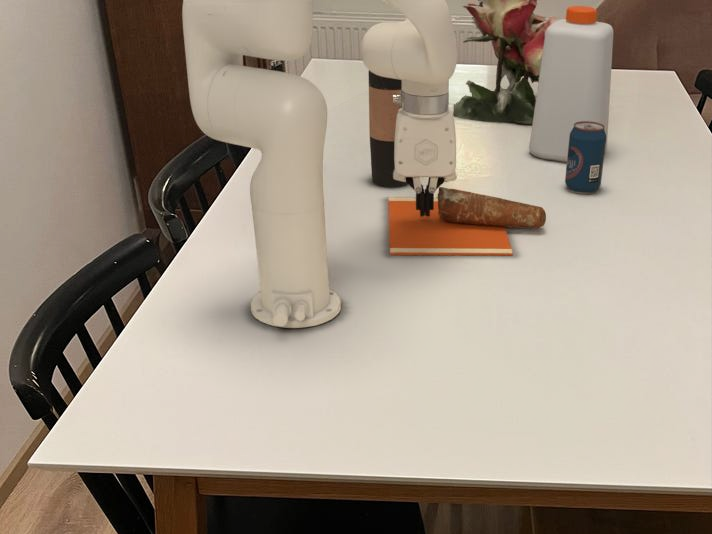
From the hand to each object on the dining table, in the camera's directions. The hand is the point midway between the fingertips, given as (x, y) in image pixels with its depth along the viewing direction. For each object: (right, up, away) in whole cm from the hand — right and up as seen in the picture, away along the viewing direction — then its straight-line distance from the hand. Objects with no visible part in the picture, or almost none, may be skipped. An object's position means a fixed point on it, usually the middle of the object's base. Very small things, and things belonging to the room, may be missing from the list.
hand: (424, 213), depth 160 cm
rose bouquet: (+18, +44, +65) cm, 81 cm away
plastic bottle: (+28, +24, +39) cm, 53 cm away
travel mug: (-8, +11, +19) cm, 23 cm away
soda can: (+29, +10, +20) cm, 37 cm away
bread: (+11, -1, +2) cm, 12 cm away
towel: (+4, -2, +1) cm, 4 cm away
